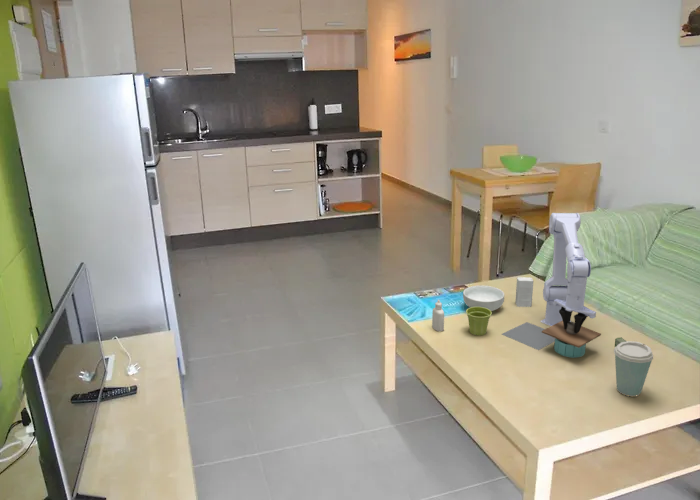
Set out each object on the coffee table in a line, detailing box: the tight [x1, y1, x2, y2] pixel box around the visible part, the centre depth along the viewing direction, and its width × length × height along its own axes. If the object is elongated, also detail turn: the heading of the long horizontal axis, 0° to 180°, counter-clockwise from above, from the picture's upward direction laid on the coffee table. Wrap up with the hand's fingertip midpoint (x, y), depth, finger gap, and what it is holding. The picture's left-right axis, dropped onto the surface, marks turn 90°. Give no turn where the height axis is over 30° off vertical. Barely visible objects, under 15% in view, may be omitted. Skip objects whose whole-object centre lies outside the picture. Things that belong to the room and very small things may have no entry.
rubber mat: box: [501, 321, 555, 351], centre depth 203 cm, size 16×16×1 cm
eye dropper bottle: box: [431, 299, 445, 332], centre depth 209 cm, size 4×6×12 cm
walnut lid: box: [542, 320, 602, 348], centre depth 189 cm, size 14×14×4 cm
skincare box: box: [514, 276, 534, 308], centre depth 228 cm, size 6×4×12 cm
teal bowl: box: [553, 338, 587, 359], centre depth 191 cm, size 10×10×5 cm
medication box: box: [614, 337, 627, 347], centre depth 188 cm, size 12×3×4 cm, turn 13°
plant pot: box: [465, 307, 493, 336], centre depth 206 cm, size 9×9×9 cm
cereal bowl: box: [462, 284, 505, 312], centre depth 227 cm, size 17×17×7 cm
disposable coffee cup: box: [613, 340, 654, 397], centre depth 166 cm, size 11×11×15 cm
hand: (571, 330), depth 189 cm, fingers closed on walnut lid, 3 cm apart
